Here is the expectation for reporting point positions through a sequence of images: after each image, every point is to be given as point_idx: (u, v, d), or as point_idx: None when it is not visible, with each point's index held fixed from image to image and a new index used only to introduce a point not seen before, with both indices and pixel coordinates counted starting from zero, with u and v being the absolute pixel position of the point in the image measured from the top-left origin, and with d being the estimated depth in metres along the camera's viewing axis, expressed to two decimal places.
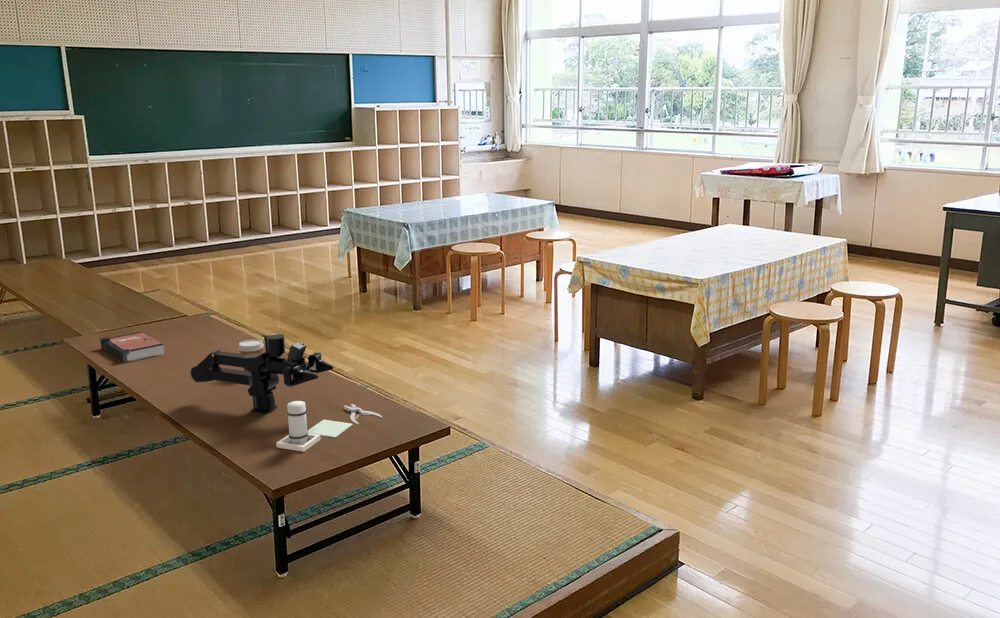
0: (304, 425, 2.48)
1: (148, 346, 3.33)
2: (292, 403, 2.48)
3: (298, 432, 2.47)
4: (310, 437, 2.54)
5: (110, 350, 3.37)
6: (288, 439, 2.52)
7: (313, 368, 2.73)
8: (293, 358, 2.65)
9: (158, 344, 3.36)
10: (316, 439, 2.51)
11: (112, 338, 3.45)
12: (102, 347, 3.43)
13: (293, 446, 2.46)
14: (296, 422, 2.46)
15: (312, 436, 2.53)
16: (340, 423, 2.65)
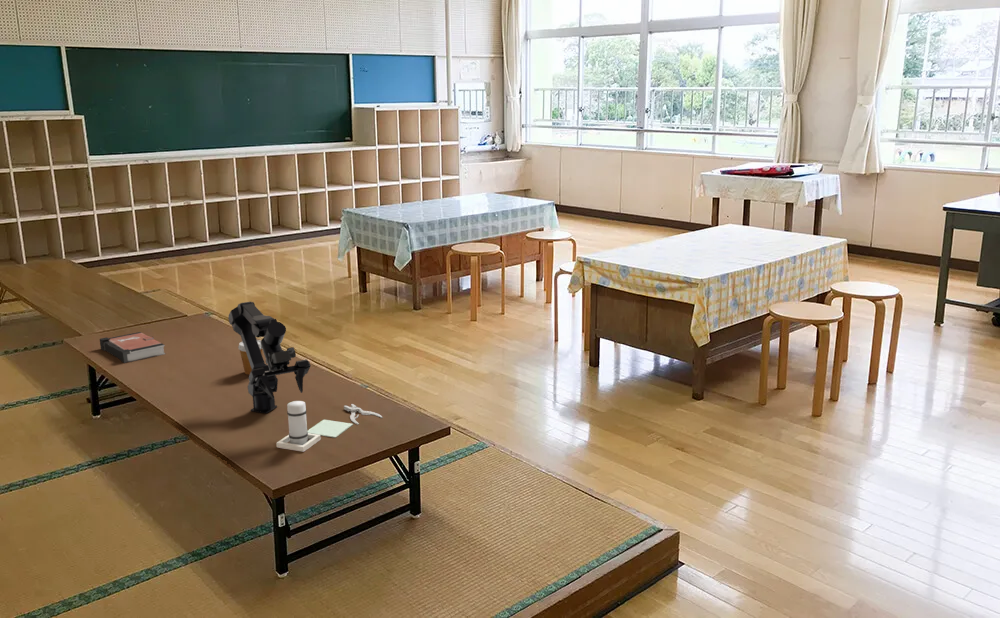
0: (304, 425, 2.48)
1: (148, 346, 3.33)
2: (292, 403, 2.48)
3: (298, 432, 2.47)
4: (310, 437, 2.54)
5: (110, 350, 3.37)
6: (288, 439, 2.52)
7: (295, 371, 2.61)
8: (273, 361, 2.53)
9: (158, 344, 3.37)
10: (316, 439, 2.51)
11: (111, 338, 3.44)
12: (101, 347, 3.42)
13: (293, 446, 2.46)
14: (296, 422, 2.46)
15: (312, 436, 2.53)
16: (340, 423, 2.65)
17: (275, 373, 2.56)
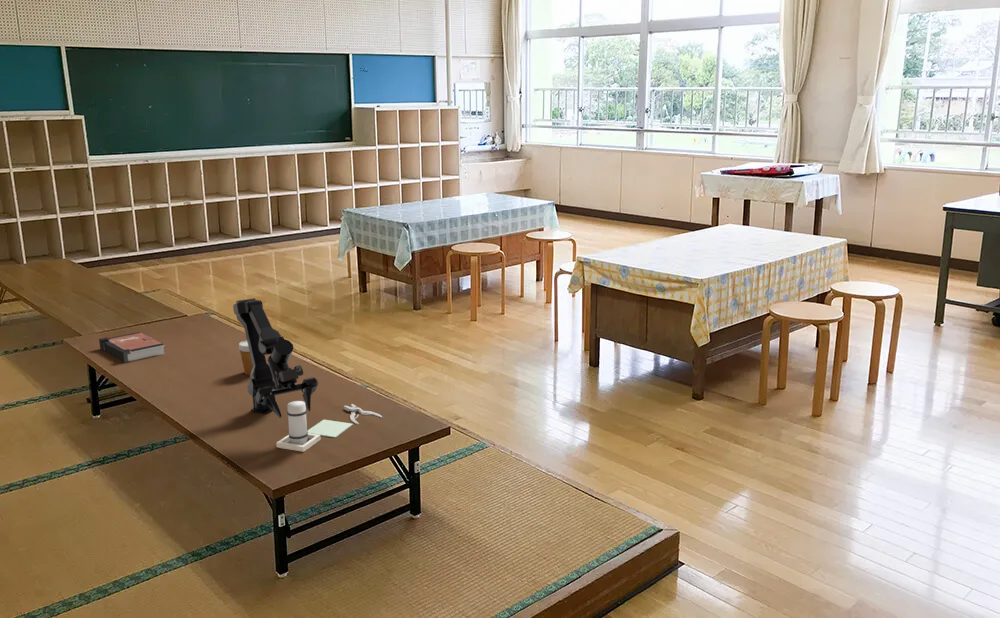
0: (304, 425, 2.48)
1: (148, 346, 3.33)
2: (292, 403, 2.48)
3: (298, 432, 2.47)
4: (310, 437, 2.54)
5: (110, 350, 3.36)
6: (288, 439, 2.52)
7: (303, 390, 2.57)
8: (280, 380, 2.50)
9: (158, 344, 3.37)
10: (316, 439, 2.51)
11: (111, 338, 3.44)
12: (101, 347, 3.42)
13: (293, 446, 2.46)
14: (296, 422, 2.46)
15: (312, 436, 2.53)
16: (340, 423, 2.65)
17: (282, 391, 2.52)
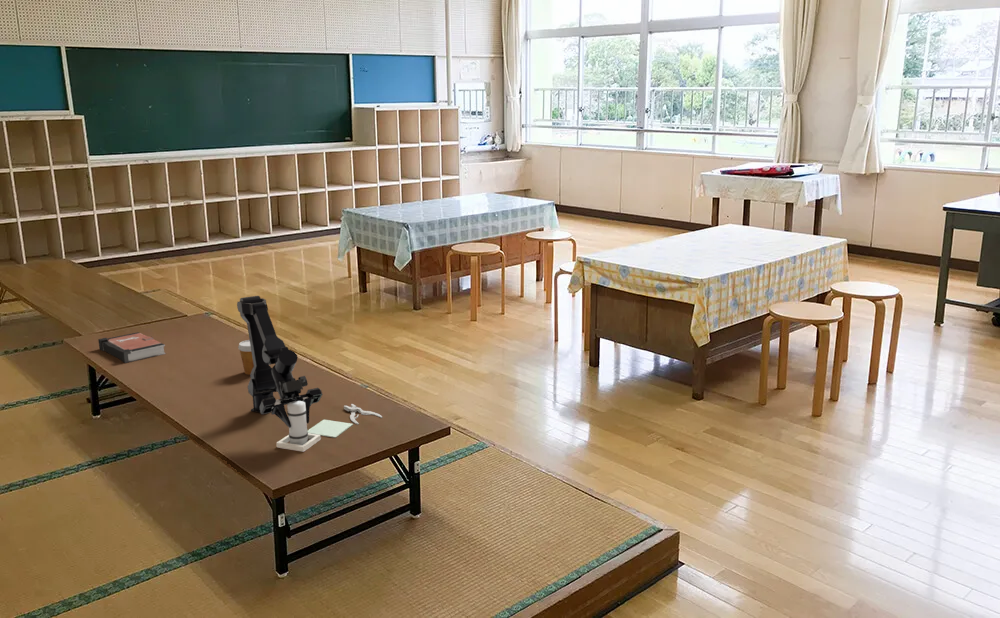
0: (304, 425, 2.48)
1: (149, 346, 3.34)
2: (292, 403, 2.48)
3: (298, 432, 2.47)
4: (310, 437, 2.54)
5: (110, 350, 3.36)
6: (288, 439, 2.52)
7: None
8: (284, 390, 2.48)
9: (158, 344, 3.37)
10: (316, 439, 2.51)
11: (110, 339, 3.44)
12: (100, 348, 3.42)
13: (293, 446, 2.46)
14: (296, 422, 2.46)
15: (312, 436, 2.53)
16: (340, 423, 2.65)
17: (286, 402, 2.50)
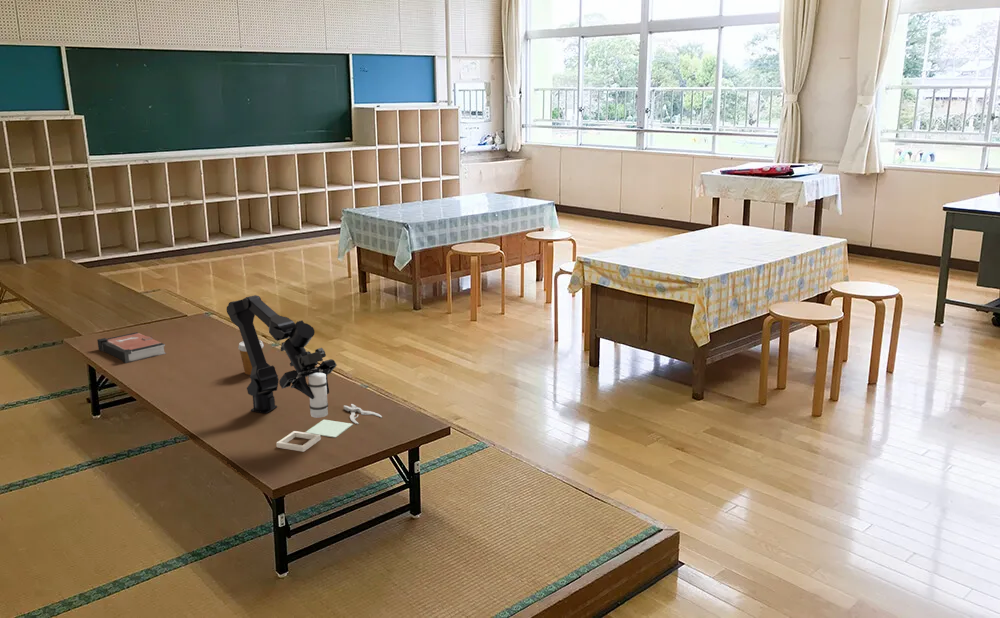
0: (326, 395, 2.54)
1: (149, 346, 3.34)
2: (312, 375, 2.53)
3: (321, 402, 2.53)
4: (310, 437, 2.54)
5: (109, 351, 3.36)
6: (288, 439, 2.52)
7: None
8: (304, 363, 2.52)
9: (158, 344, 3.37)
10: (316, 439, 2.51)
11: (109, 339, 3.44)
12: (99, 348, 3.41)
13: (293, 446, 2.46)
14: (319, 393, 2.52)
15: (312, 436, 2.53)
16: (340, 423, 2.65)
17: (305, 375, 2.54)
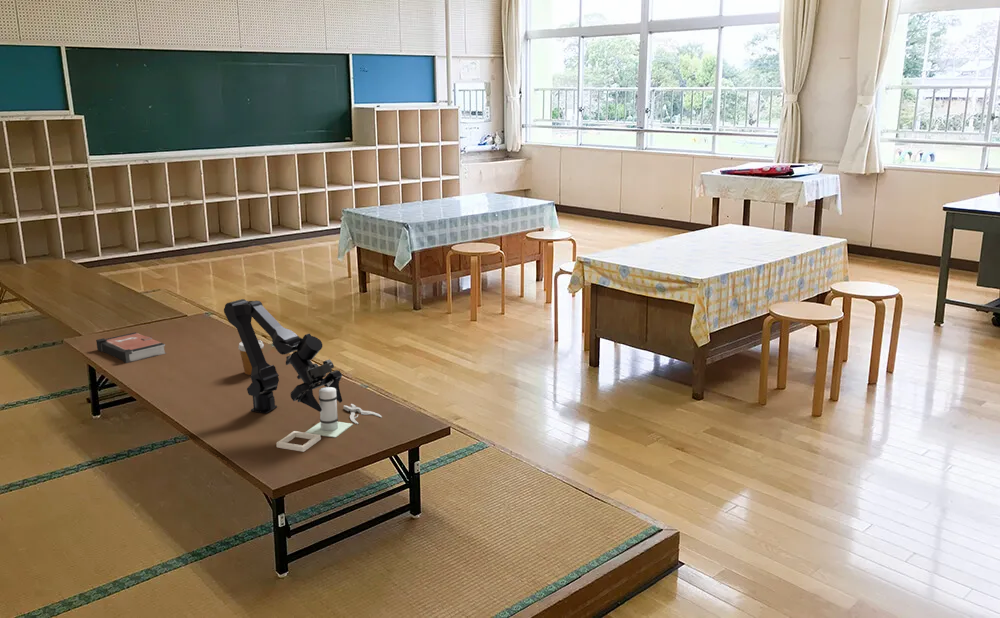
0: (336, 409, 2.60)
1: (149, 346, 3.34)
2: (322, 390, 2.59)
3: (332, 416, 2.59)
4: (310, 437, 2.54)
5: (109, 351, 3.36)
6: (288, 439, 2.52)
7: (327, 383, 2.66)
8: (314, 375, 2.57)
9: (158, 343, 3.37)
10: (316, 439, 2.51)
11: (108, 339, 3.43)
12: (98, 348, 3.41)
13: (293, 446, 2.46)
14: (330, 407, 2.58)
15: (312, 436, 2.53)
16: (340, 423, 2.65)
17: (314, 387, 2.59)
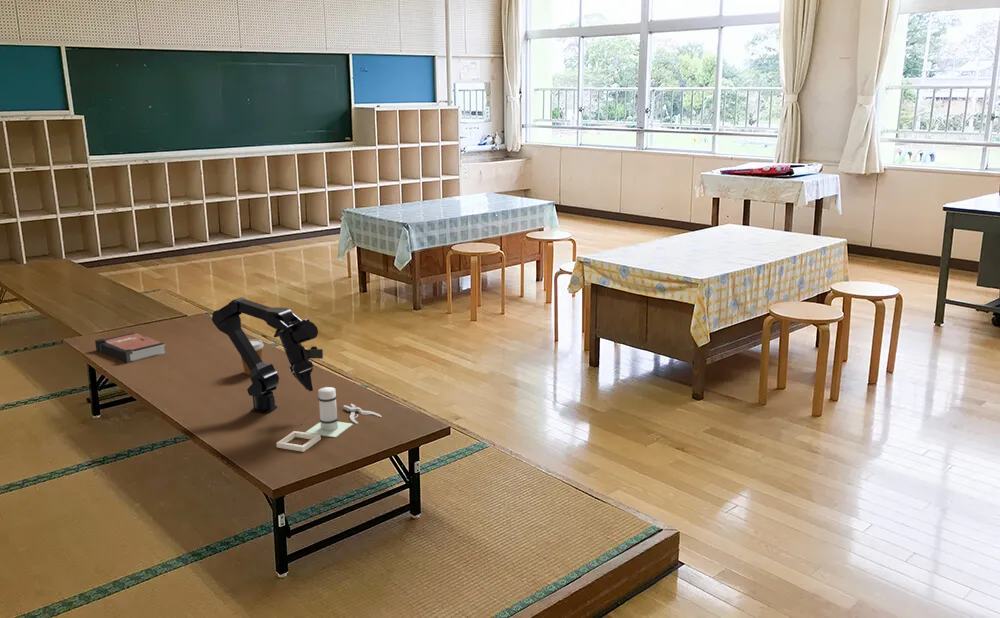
0: (336, 409, 2.60)
1: (149, 346, 3.34)
2: (322, 390, 2.58)
3: (332, 416, 2.59)
4: (310, 437, 2.54)
5: (109, 351, 3.35)
6: (288, 439, 2.52)
7: None
8: (311, 356, 2.65)
9: (158, 343, 3.37)
10: (316, 439, 2.51)
11: (107, 339, 3.43)
12: (97, 349, 3.40)
13: (293, 446, 2.46)
14: (330, 407, 2.57)
15: (312, 436, 2.53)
16: (340, 423, 2.65)
17: None
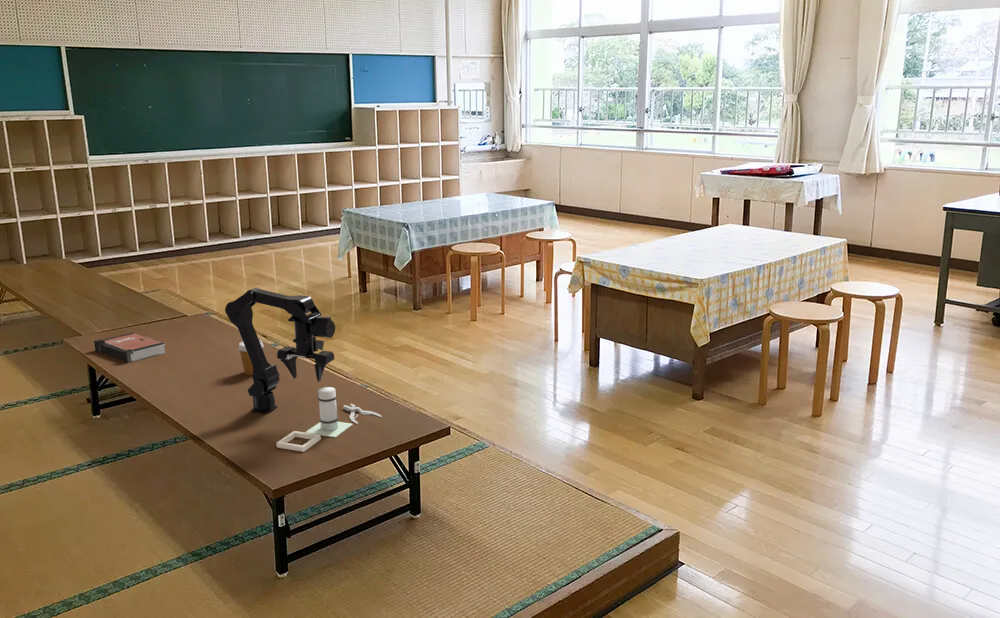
0: (336, 409, 2.60)
1: (149, 346, 3.34)
2: (322, 390, 2.58)
3: (332, 416, 2.59)
4: (310, 437, 2.54)
5: (108, 351, 3.35)
6: (288, 439, 2.52)
7: (288, 356, 2.67)
8: (318, 347, 2.69)
9: (158, 343, 3.38)
10: (316, 439, 2.51)
11: (106, 340, 3.42)
12: (97, 349, 3.40)
13: (293, 446, 2.46)
14: (330, 407, 2.57)
15: (312, 436, 2.53)
16: (340, 423, 2.65)
17: None
